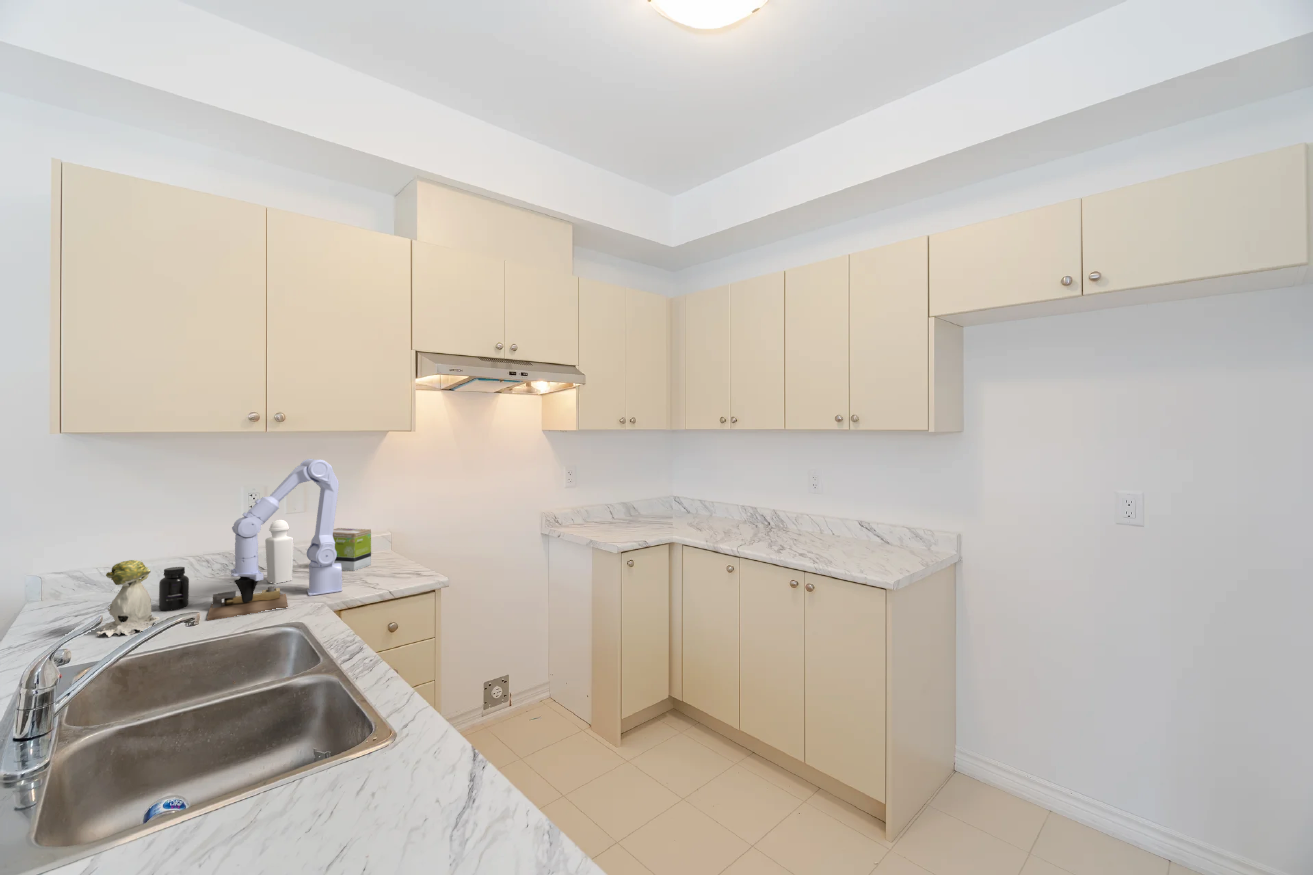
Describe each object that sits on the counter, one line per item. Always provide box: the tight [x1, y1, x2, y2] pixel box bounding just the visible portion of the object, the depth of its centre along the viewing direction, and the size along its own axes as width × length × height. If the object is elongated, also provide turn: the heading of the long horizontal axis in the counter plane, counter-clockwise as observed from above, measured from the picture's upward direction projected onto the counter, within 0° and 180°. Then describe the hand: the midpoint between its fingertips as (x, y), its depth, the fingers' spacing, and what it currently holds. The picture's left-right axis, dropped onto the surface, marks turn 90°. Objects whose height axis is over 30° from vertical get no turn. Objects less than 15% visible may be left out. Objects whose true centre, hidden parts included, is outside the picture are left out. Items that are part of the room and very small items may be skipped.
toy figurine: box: [96, 559, 160, 638], centre depth 152 cm, size 12×13×18 cm
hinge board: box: [206, 585, 289, 622], centre depth 170 cm, size 19×16×4 cm
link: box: [223, 587, 281, 605], centre depth 174 cm, size 14×5×2 cm, turn 123°
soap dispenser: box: [265, 519, 294, 584], centre depth 200 cm, size 6×6×22 cm
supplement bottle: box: [158, 566, 190, 612], centre depth 170 cm, size 7×7×12 cm
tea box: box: [333, 527, 372, 572], centre depth 221 cm, size 15×10×15 cm, turn 81°
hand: (247, 601), depth 172 cm, fingers closed, pressing on link
